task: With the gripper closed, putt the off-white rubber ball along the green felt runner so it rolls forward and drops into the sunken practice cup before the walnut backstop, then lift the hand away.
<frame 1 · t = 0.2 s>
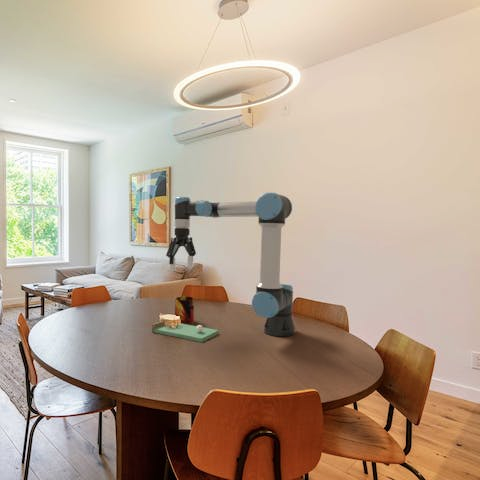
hand: (181, 269, 174), 28 cm above the table, fingers open, 13 cm apart
ball: (199, 328, 155), point 3 cm above the table, touching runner
mug: (187, 322, 178), on the table
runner: (185, 332, 159), on the table
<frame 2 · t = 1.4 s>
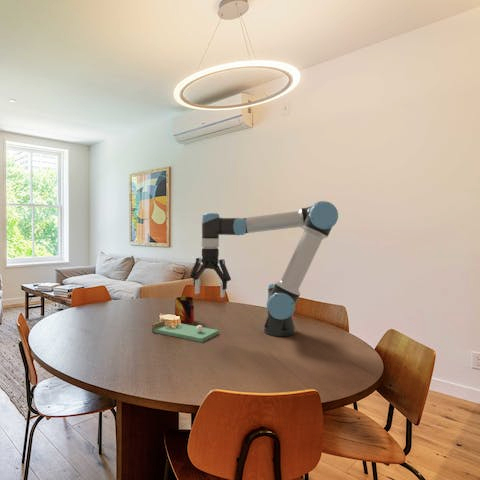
hand: (209, 295, 153), 19 cm above the table, fingers open, 13 cm apart
nothing on the table moved.
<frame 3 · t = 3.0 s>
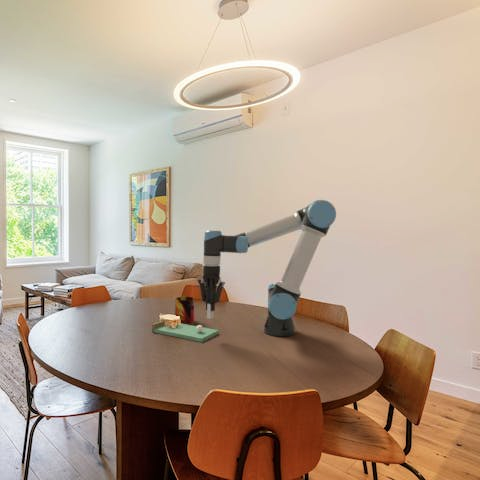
hand: (210, 317, 152), 9 cm above the table, fingers closed
nothing on the table moved.
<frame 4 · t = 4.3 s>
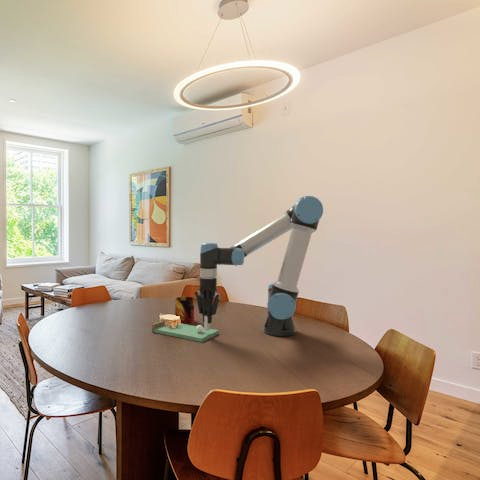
hand: (207, 329, 153), 3 cm above the table, fingers closed
nothing on the table moved.
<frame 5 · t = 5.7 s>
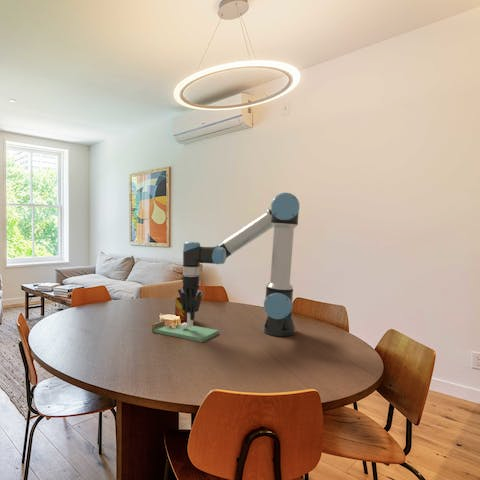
hand: (189, 326, 157), 3 cm above the table, fingers closed
ball: (184, 326, 159), point 3 cm above the table, tilted 69°, touching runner
everything else where it was.
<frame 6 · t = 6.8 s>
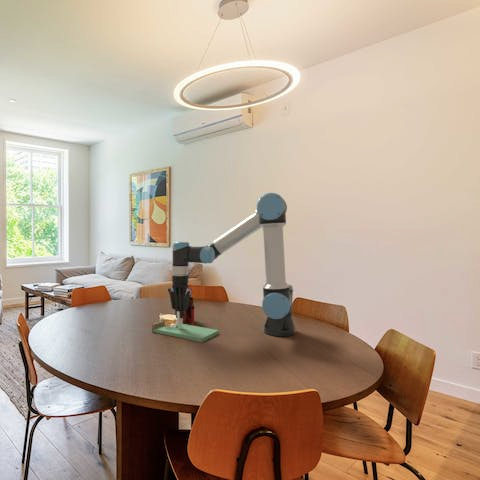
hand: (179, 324, 160), 3 cm above the table, fingers closed
ball: (172, 326, 162), point 2 cm above the table, tilted 148°
everything else where it was.
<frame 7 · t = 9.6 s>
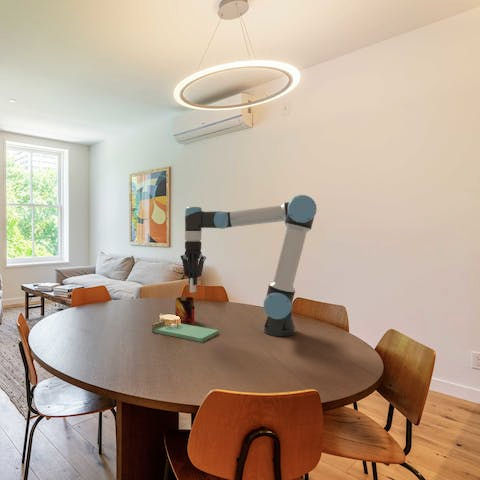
hand: (192, 291, 157), 19 cm above the table, fingers closed
ball: (173, 326, 163), point 2 cm above the table, tilted 153°
everything else where it was.
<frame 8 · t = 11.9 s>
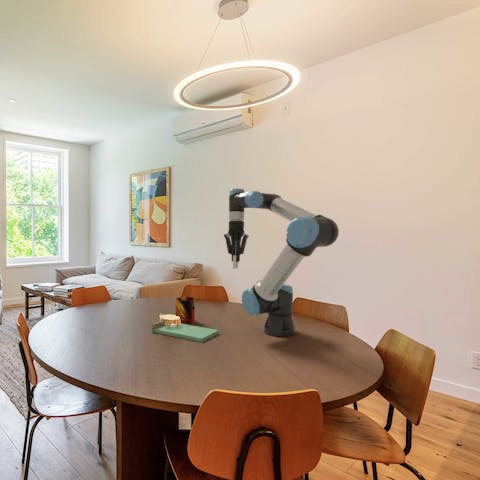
hand: (235, 268, 169), 29 cm above the table, fingers closed
nothing on the table moved.
at the end: ball 0.1 cm from the target spot on the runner, point 1.6 cm above the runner's base; the gripper is holding nothing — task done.
